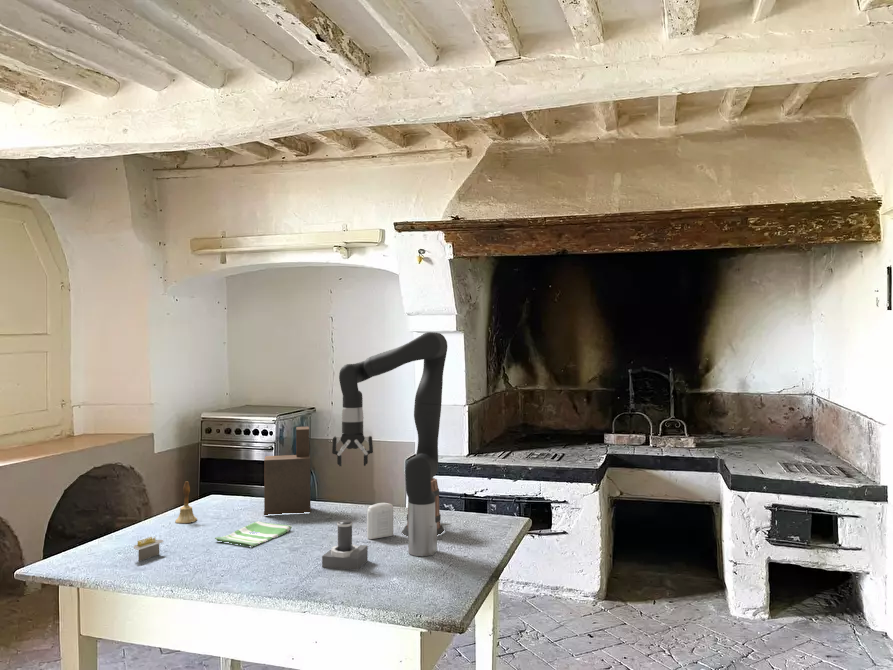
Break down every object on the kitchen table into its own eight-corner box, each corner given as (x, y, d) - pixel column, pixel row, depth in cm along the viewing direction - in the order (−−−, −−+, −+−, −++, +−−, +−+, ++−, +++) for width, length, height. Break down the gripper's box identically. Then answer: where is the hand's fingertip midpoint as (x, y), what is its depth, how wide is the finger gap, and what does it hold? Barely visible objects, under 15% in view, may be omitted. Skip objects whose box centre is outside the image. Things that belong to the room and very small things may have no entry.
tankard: (439, 540, 237) (439, 484, 237) (395, 536, 241) (395, 482, 241) (454, 522, 260) (454, 472, 260) (413, 520, 264) (413, 470, 264)
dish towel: (213, 543, 235) (213, 535, 235) (257, 526, 257) (257, 519, 257) (251, 549, 228) (251, 542, 228) (294, 532, 249) (294, 525, 249)
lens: (354, 550, 213) (354, 520, 213) (349, 555, 208) (349, 524, 208) (340, 549, 214) (340, 519, 214) (335, 554, 209) (335, 523, 209)
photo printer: (389, 533, 246) (389, 500, 246) (395, 535, 242) (395, 502, 242) (365, 537, 240) (365, 504, 240) (370, 540, 236) (370, 506, 236)
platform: (111, 563, 213) (111, 543, 213) (157, 548, 229) (157, 529, 229) (135, 569, 208) (135, 548, 208) (181, 553, 224) (181, 534, 224)
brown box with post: (310, 505, 288) (310, 426, 289) (310, 513, 274) (310, 430, 275) (265, 508, 284) (265, 427, 284) (263, 516, 270) (263, 432, 270)
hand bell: (176, 519, 266) (176, 480, 267) (197, 517, 269) (198, 478, 269) (174, 524, 259) (174, 484, 259) (196, 522, 261) (196, 482, 261)
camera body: (367, 560, 214) (367, 545, 214) (357, 570, 205) (357, 554, 205) (333, 558, 217) (333, 543, 217) (322, 567, 208) (322, 551, 208)
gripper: (331, 421, 227) (331, 468, 227) (372, 420, 228) (372, 467, 228) (333, 419, 234) (333, 464, 234) (372, 418, 236) (372, 463, 236)
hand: (352, 465), depth 231 cm, fingers open, 8 cm apart
